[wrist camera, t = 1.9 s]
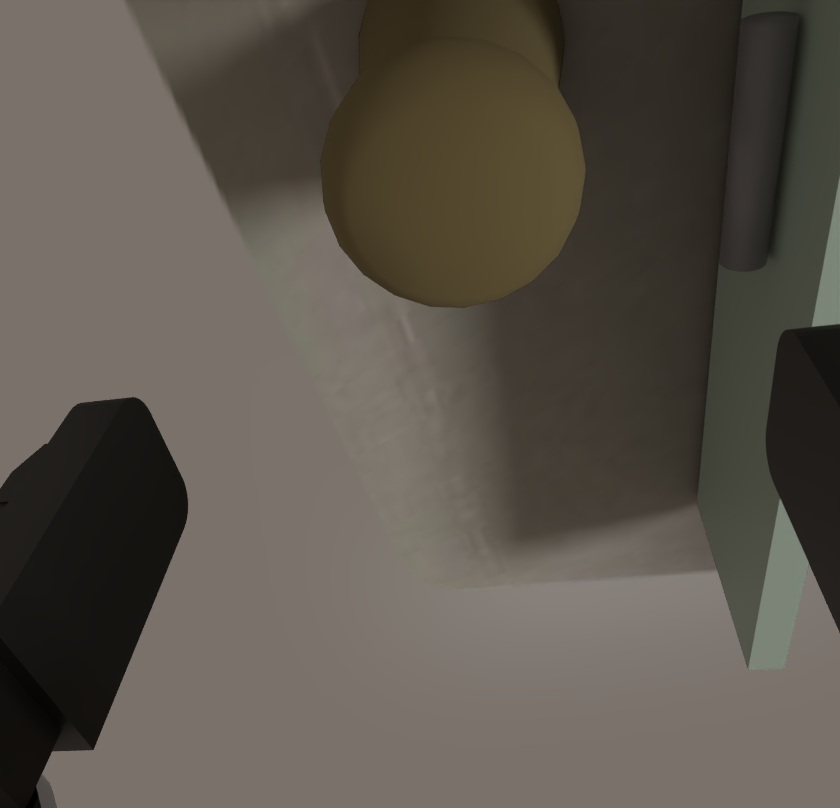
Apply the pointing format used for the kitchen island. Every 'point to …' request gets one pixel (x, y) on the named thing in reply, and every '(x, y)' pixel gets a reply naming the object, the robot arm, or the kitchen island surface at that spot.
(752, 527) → the drawer
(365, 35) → the olive tall rounded piece
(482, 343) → the kitchen island surface
